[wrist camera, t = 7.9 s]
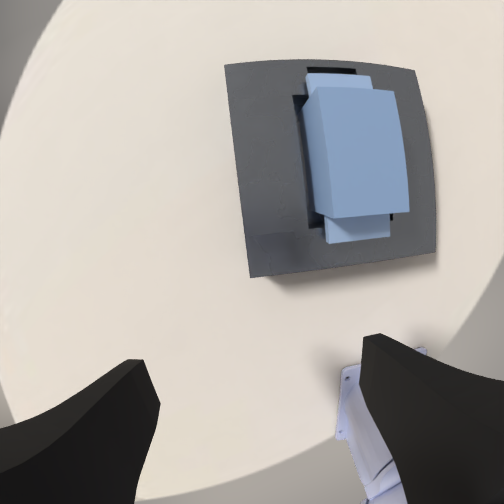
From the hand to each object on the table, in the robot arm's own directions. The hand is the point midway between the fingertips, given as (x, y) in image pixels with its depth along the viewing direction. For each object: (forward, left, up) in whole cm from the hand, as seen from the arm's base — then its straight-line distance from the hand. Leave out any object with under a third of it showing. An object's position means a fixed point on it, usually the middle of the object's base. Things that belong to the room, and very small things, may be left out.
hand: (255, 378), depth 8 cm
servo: (+7, -6, -10) cm, 13 cm away
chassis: (+7, -6, -10) cm, 14 cm away
